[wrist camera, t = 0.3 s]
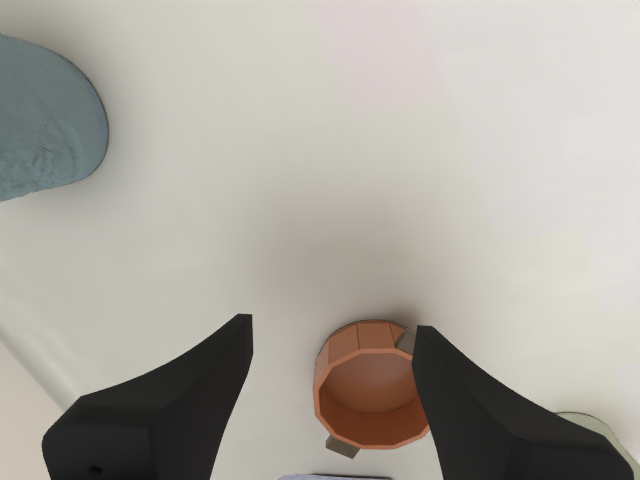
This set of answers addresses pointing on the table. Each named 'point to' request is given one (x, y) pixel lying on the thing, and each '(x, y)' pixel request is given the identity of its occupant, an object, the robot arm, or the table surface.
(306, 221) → the table surface
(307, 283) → the table surface
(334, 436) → the pan
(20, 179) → the grey cylinder
